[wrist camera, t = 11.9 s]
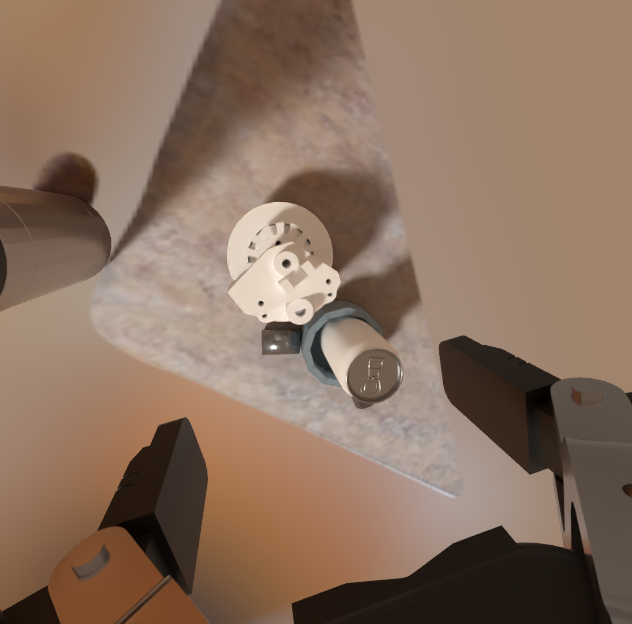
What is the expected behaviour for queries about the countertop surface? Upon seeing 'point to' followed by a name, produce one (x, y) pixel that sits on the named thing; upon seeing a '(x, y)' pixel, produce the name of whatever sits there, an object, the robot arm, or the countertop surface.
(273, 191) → the countertop surface
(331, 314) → the collar
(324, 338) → the can
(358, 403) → the shaft
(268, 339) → the shaft
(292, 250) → the mechanical part
